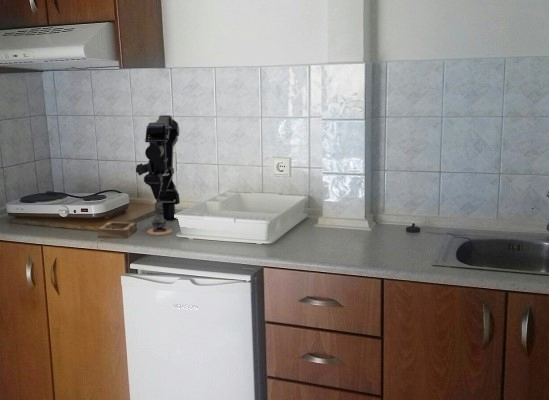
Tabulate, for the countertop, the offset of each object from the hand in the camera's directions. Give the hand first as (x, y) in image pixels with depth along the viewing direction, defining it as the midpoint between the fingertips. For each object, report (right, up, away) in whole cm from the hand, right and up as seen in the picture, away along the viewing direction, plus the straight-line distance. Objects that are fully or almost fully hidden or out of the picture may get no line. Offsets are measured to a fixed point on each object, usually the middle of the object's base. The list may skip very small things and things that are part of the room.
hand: (160, 196), depth 236 cm
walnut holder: (-15, -14, -4) cm, 21 cm away
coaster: (0, -14, -2) cm, 14 cm away
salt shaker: (0, -13, -2) cm, 13 cm away
